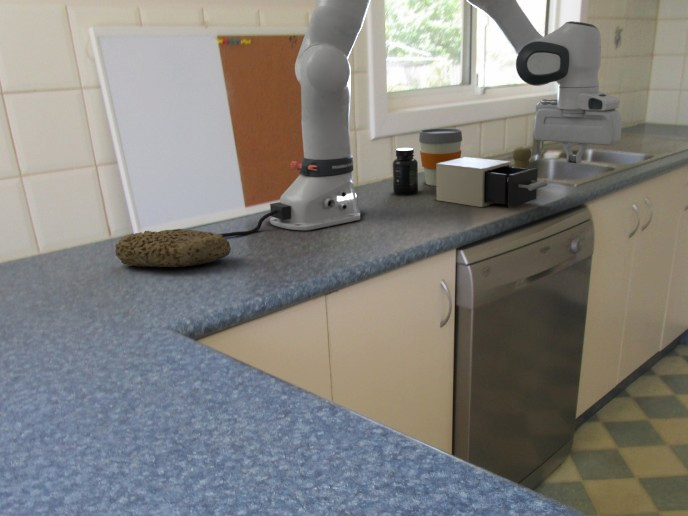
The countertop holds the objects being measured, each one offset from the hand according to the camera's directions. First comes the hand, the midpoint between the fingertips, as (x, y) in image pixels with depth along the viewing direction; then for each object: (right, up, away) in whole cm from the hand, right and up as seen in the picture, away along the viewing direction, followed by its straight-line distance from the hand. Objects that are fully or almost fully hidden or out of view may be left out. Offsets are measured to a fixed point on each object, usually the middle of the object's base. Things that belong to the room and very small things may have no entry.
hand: (573, 162), depth 153 cm
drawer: (-13, -7, +15) cm, 20 cm away
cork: (-6, 0, +34) cm, 35 cm away
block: (-13, -6, +14) cm, 20 cm away
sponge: (-83, -25, -25) cm, 90 cm away
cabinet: (-21, -5, +22) cm, 30 cm away
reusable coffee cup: (-28, +3, +44) cm, 52 cm away
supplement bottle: (-38, -2, +31) cm, 50 cm away
